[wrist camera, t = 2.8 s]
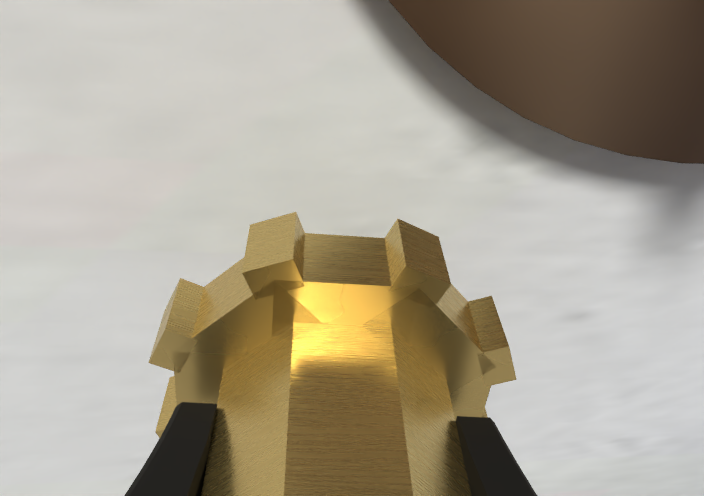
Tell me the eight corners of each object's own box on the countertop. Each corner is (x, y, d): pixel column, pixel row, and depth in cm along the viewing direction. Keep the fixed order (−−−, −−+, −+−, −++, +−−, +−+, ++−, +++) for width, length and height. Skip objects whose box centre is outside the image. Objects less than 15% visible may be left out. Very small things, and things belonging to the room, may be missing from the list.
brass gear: (529, 227, 12) (647, 472, 8) (459, 461, 16) (512, 717, 12) (156, 202, 12) (53, 453, 7) (175, 452, 16) (116, 718, 11)
